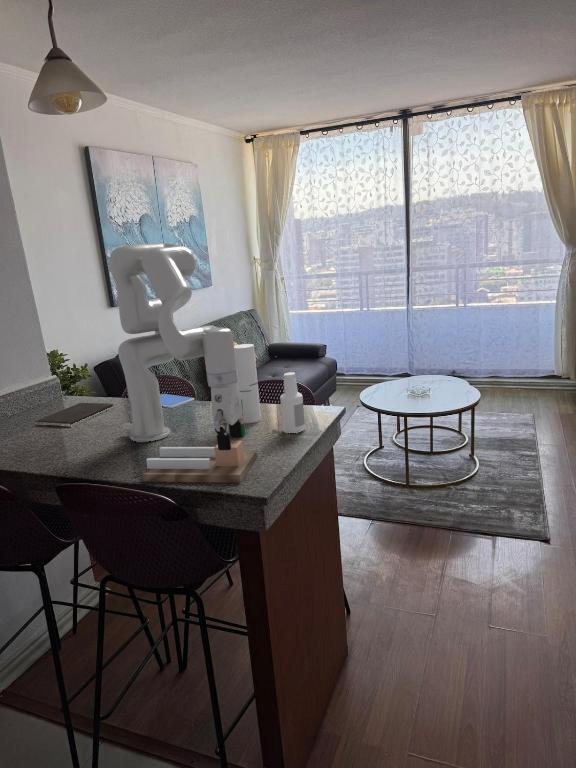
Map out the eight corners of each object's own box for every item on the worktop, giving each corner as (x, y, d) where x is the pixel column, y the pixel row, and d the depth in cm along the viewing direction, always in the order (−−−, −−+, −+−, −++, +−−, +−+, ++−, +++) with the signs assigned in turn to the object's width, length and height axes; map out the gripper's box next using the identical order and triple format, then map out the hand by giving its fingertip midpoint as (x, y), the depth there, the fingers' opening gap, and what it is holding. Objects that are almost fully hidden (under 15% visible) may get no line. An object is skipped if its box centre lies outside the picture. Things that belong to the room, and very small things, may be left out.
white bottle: (307, 432, 166) (302, 374, 162) (284, 435, 166) (279, 377, 161) (302, 425, 173) (298, 370, 169) (281, 428, 172) (276, 372, 168)
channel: (147, 468, 143) (146, 459, 142) (162, 455, 152) (160, 447, 151) (209, 469, 139) (208, 459, 139) (220, 455, 148) (219, 446, 147)
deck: (142, 481, 140) (141, 474, 140) (168, 457, 155) (167, 450, 155) (240, 482, 135) (239, 475, 134) (257, 457, 150) (256, 450, 149)
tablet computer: (138, 404, 217) (138, 400, 217) (163, 395, 227) (163, 392, 226) (171, 409, 205) (170, 406, 205) (195, 400, 215) (195, 397, 215)
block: (216, 466, 141) (214, 447, 140) (222, 458, 146) (220, 440, 144) (238, 466, 140) (236, 447, 138) (244, 458, 144) (242, 440, 143)
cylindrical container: (265, 419, 182) (258, 345, 176) (246, 424, 179) (238, 349, 172) (254, 415, 188) (246, 343, 182) (235, 420, 184) (227, 346, 178)
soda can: (243, 438, 166) (239, 400, 163) (227, 438, 167) (222, 400, 164) (247, 432, 171) (243, 395, 168) (232, 432, 172) (227, 395, 169)
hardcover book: (36, 427, 198) (35, 420, 197) (81, 408, 218) (80, 402, 218) (71, 429, 192) (70, 422, 191) (114, 409, 212) (113, 403, 212)
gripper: (226, 386, 128) (234, 455, 132) (246, 369, 144) (253, 431, 148) (196, 387, 130) (205, 455, 134) (219, 371, 146) (227, 432, 150)
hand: (230, 443), depth 141 cm, fingers open, 9 cm apart
